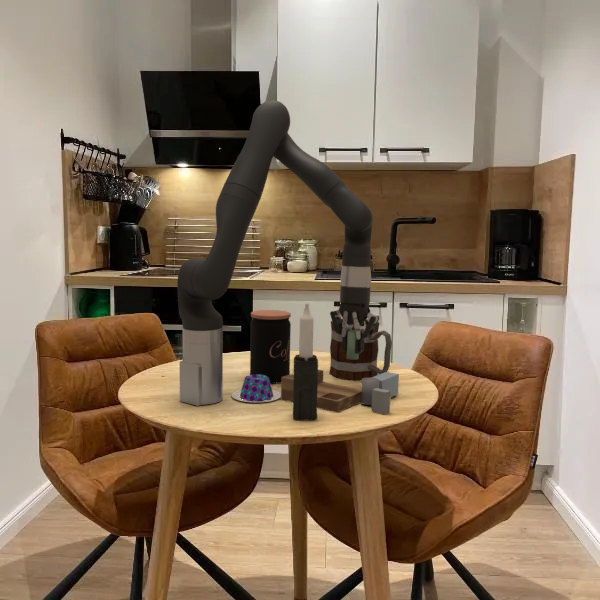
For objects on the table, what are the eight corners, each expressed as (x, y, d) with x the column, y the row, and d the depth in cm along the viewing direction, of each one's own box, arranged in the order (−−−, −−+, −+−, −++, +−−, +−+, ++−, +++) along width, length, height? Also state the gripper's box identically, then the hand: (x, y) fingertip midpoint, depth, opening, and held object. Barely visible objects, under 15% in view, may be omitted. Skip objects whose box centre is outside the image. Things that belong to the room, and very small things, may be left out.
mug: (319, 373, 167) (320, 321, 165) (352, 366, 176) (353, 316, 174) (371, 388, 152) (373, 331, 151) (405, 380, 161) (407, 326, 160)
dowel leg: (354, 360, 148) (355, 332, 148) (344, 358, 150) (345, 331, 149) (360, 358, 151) (361, 331, 150) (350, 356, 152) (351, 329, 152)
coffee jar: (271, 386, 153) (272, 317, 150) (241, 379, 159) (242, 312, 157) (297, 378, 161) (299, 313, 159) (267, 371, 168) (269, 308, 165)
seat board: (337, 412, 132) (338, 388, 132) (281, 399, 142) (281, 377, 141) (364, 400, 142) (365, 378, 141) (310, 388, 151) (310, 367, 151)
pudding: (291, 398, 144) (291, 376, 143) (255, 408, 135) (256, 386, 135) (257, 388, 152) (257, 368, 151) (221, 397, 143) (221, 376, 142)
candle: (315, 413, 132) (318, 301, 129) (317, 420, 127) (319, 304, 124) (292, 412, 132) (294, 300, 128) (293, 420, 126) (295, 303, 123)
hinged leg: (373, 406, 136) (373, 382, 135) (358, 403, 138) (358, 379, 138) (399, 393, 147) (399, 372, 146) (384, 391, 149) (385, 369, 148)
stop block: (385, 414, 132) (386, 392, 131) (371, 411, 134) (372, 389, 133) (389, 412, 133) (390, 390, 132) (375, 409, 135) (376, 387, 135)
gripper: (323, 283, 150) (321, 350, 151) (372, 287, 141) (369, 358, 143) (340, 281, 156) (337, 346, 157) (387, 285, 147) (384, 354, 149)
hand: (352, 352), depth 150 cm, fingers closed on dowel leg, 3 cm apart
